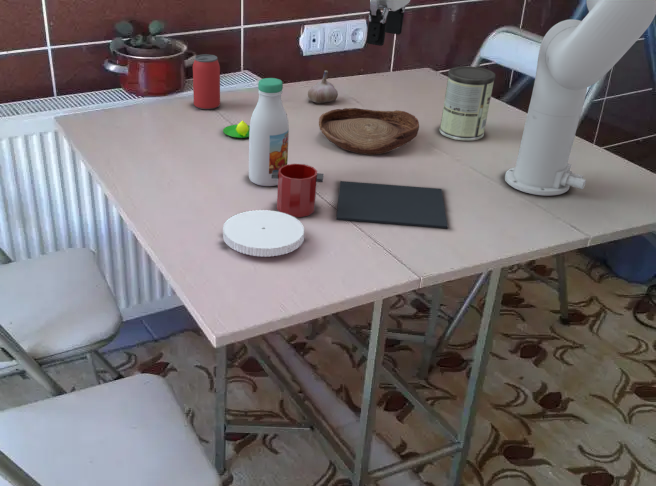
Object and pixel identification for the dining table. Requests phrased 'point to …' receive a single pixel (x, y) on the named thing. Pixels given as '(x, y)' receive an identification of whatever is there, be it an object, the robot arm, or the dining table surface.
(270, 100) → the milk bottle
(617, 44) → the robot arm
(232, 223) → the plastic lid
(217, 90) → the beer can
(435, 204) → the mat
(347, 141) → the basket
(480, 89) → the coffee can
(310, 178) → the pot
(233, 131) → the lemon on green saucer
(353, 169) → the dining table surface
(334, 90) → the garlic bulb
